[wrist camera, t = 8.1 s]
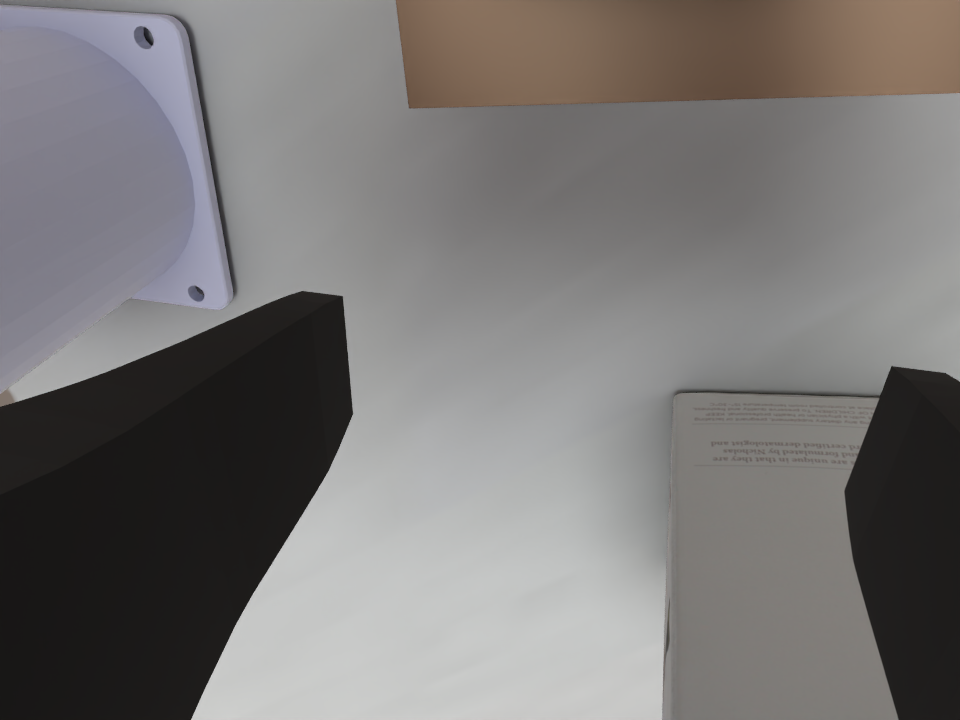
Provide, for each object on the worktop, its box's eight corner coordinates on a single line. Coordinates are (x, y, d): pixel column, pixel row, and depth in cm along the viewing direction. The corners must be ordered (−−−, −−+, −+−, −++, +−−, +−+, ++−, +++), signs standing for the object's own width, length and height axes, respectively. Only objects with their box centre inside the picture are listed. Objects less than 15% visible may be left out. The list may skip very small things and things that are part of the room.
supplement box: (668, 384, 21) (661, 885, 10) (968, 394, 19) (1330, 1013, 8) (662, 572, 24) (653, 1078, 14) (911, 595, 23) (1114, 1194, 12)
